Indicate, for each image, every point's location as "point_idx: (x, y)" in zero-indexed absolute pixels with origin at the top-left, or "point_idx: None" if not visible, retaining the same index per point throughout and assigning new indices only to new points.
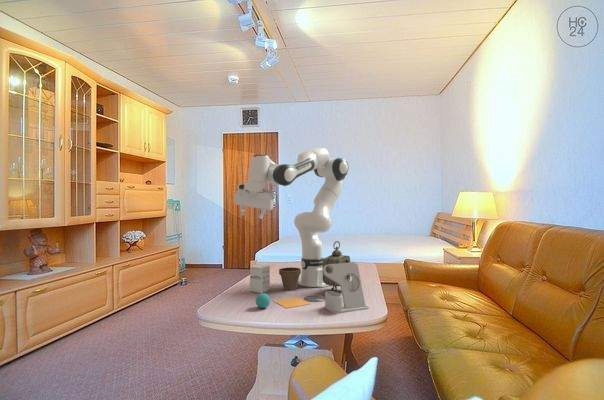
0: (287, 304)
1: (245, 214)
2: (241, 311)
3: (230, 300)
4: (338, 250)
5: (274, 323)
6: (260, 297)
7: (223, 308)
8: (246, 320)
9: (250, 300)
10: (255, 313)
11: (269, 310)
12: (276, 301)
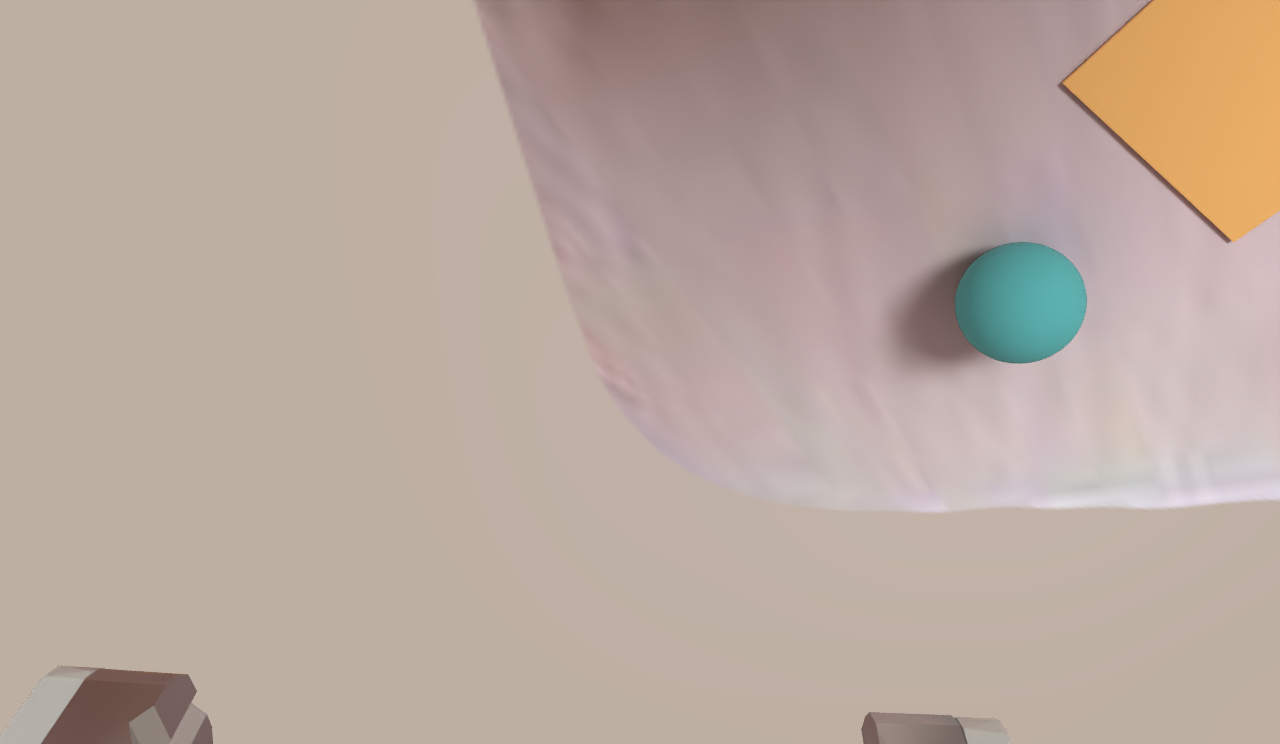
0: (1231, 149)
1: (167, 713)
2: (876, 373)
3: (653, 173)
4: None
5: (1181, 505)
6: (1016, 362)
7: (720, 348)
8: (981, 493)
9: (821, 121)
10: (994, 386)
11: None
12: (1095, 93)
